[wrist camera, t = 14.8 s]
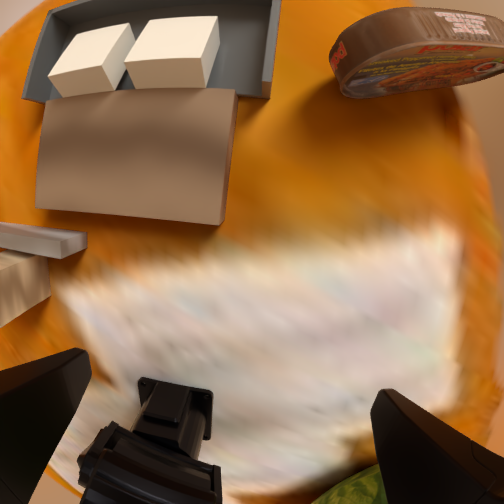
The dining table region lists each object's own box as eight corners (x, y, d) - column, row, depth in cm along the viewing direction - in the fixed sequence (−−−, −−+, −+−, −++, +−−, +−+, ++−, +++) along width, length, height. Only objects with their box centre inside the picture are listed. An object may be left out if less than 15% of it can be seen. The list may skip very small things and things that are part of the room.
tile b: (114, 90, 15) (101, 65, 13) (63, 97, 15) (47, 76, 13) (138, 47, 16) (129, 23, 13) (88, 55, 16) (76, 34, 14)
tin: (328, 108, 17) (371, 60, 9) (311, 67, 17) (339, 2, 8) (480, 85, 16) (546, 63, 7) (466, 52, 15) (526, 21, 7)
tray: (269, 99, 17) (271, 81, 14) (48, 105, 17) (21, 98, 14) (280, 6, 15) (283, -21, 12) (70, 24, 16) (48, 10, 12)
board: (224, 220, 19) (218, 225, 17) (54, 204, 19) (35, 208, 17) (238, 100, 17) (235, 89, 15) (64, 106, 17) (46, 100, 15)
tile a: (205, 87, 15) (200, 57, 13) (135, 89, 15) (123, 62, 13) (220, 43, 16) (217, 16, 13) (157, 45, 16) (149, 20, 13)
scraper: (90, 305, 21) (40, 345, 14) (-3, 279, 21) (-49, 302, 14) (87, 232, 20) (26, 253, 13) (-8, 221, 20) (-59, 234, 13)
